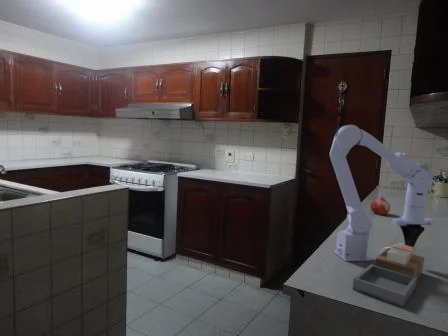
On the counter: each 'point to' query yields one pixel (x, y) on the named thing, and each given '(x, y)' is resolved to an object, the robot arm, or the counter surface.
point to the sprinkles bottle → (388, 247)
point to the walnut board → (401, 265)
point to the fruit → (380, 206)
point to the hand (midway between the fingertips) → (409, 247)
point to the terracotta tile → (405, 249)
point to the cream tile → (398, 256)
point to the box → (385, 284)
